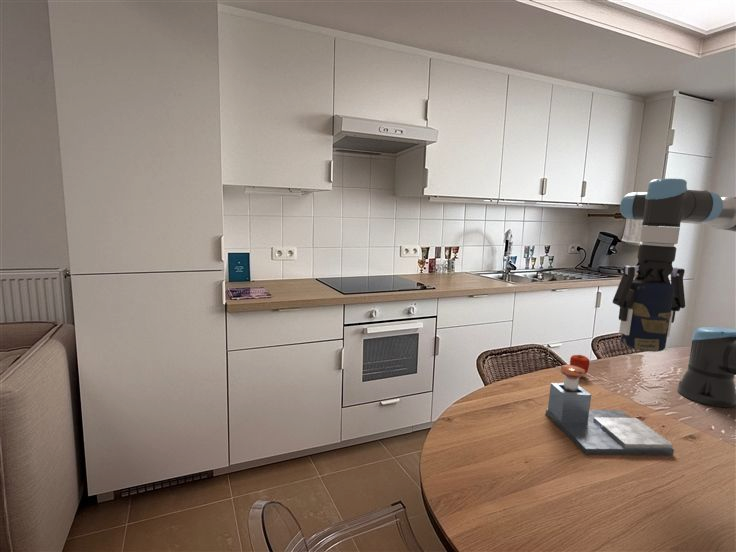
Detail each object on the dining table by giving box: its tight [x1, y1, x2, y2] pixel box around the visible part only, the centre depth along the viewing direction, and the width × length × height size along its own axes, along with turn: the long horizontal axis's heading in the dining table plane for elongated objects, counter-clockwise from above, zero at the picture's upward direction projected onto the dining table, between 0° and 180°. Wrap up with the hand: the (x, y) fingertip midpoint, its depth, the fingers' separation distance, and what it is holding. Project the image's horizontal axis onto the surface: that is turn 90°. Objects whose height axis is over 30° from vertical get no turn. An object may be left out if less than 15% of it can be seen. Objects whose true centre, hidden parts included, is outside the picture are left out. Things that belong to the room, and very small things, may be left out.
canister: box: [620, 279, 674, 353], centre depth 102 cm, size 10×10×18 cm
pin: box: [560, 364, 586, 392], centre depth 113 cm, size 6×6×9 cm
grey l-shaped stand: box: [545, 382, 675, 456], centre depth 109 cm, size 22×20×10 cm
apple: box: [569, 354, 590, 376], centre depth 148 cm, size 6×6×8 cm
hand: (643, 334), depth 103 cm, fingers closed on canister, 9 cm apart
